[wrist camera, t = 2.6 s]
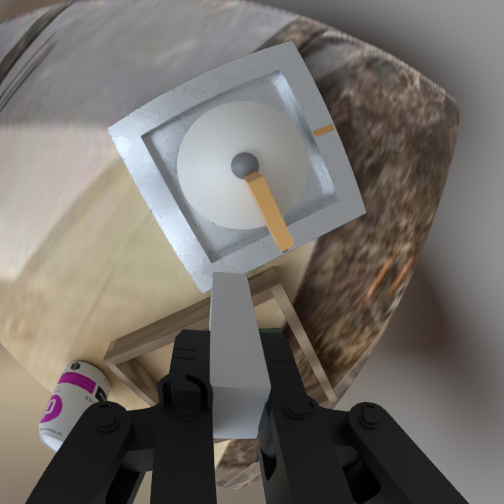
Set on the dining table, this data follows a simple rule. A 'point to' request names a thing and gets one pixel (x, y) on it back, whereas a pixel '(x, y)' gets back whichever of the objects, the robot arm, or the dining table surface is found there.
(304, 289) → the dining table surface
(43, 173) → the dining table surface
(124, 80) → the dining table surface
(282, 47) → the dial panel
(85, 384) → the supplement can
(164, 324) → the book tray
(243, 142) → the dial
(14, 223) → the dining table surface
